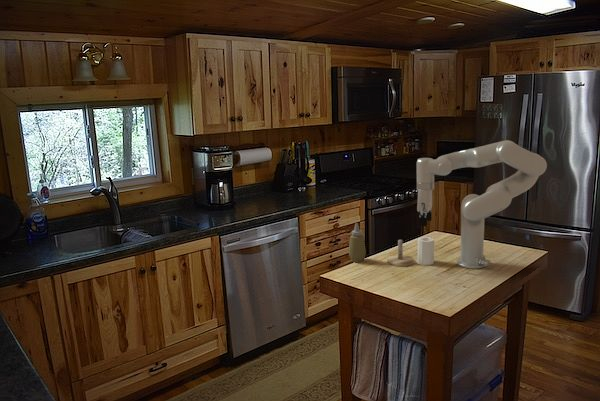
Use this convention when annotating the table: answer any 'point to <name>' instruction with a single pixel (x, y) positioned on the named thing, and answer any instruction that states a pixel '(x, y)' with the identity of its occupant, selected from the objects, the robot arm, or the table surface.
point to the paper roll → (425, 251)
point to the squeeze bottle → (357, 245)
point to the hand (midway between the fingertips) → (425, 223)
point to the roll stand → (400, 257)
